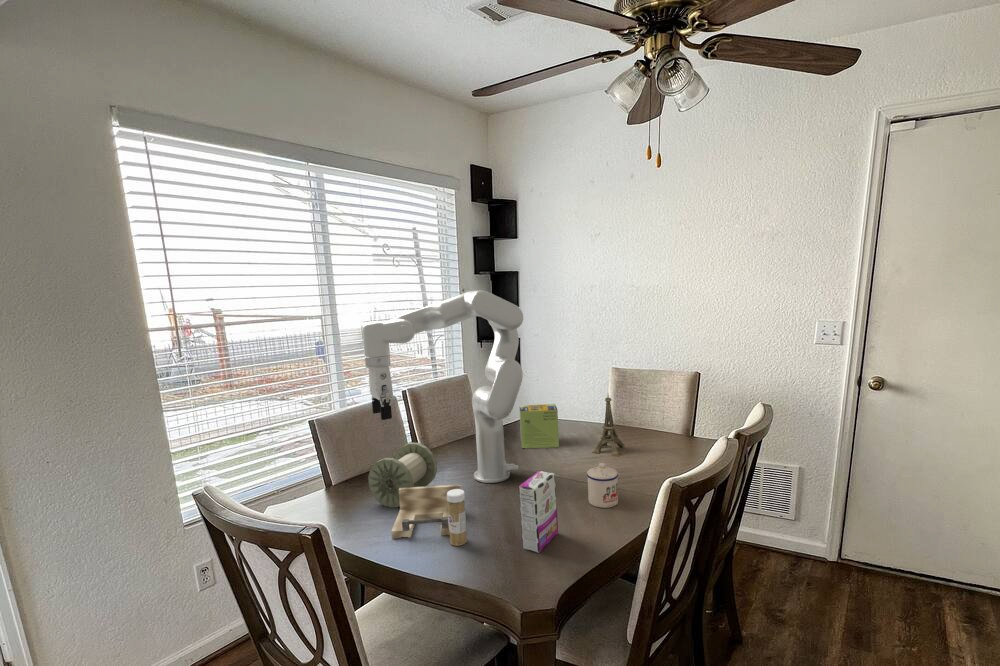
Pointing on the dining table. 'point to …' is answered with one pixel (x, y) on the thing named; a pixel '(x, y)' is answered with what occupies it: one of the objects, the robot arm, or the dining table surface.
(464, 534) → the sprinkles bottle
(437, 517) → the wooden stand
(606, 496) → the teacup with lid
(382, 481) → the spool
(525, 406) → the protein box
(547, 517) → the candy bar box
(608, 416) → the eiffel tower
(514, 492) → the dining table surface
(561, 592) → the dining table surface
